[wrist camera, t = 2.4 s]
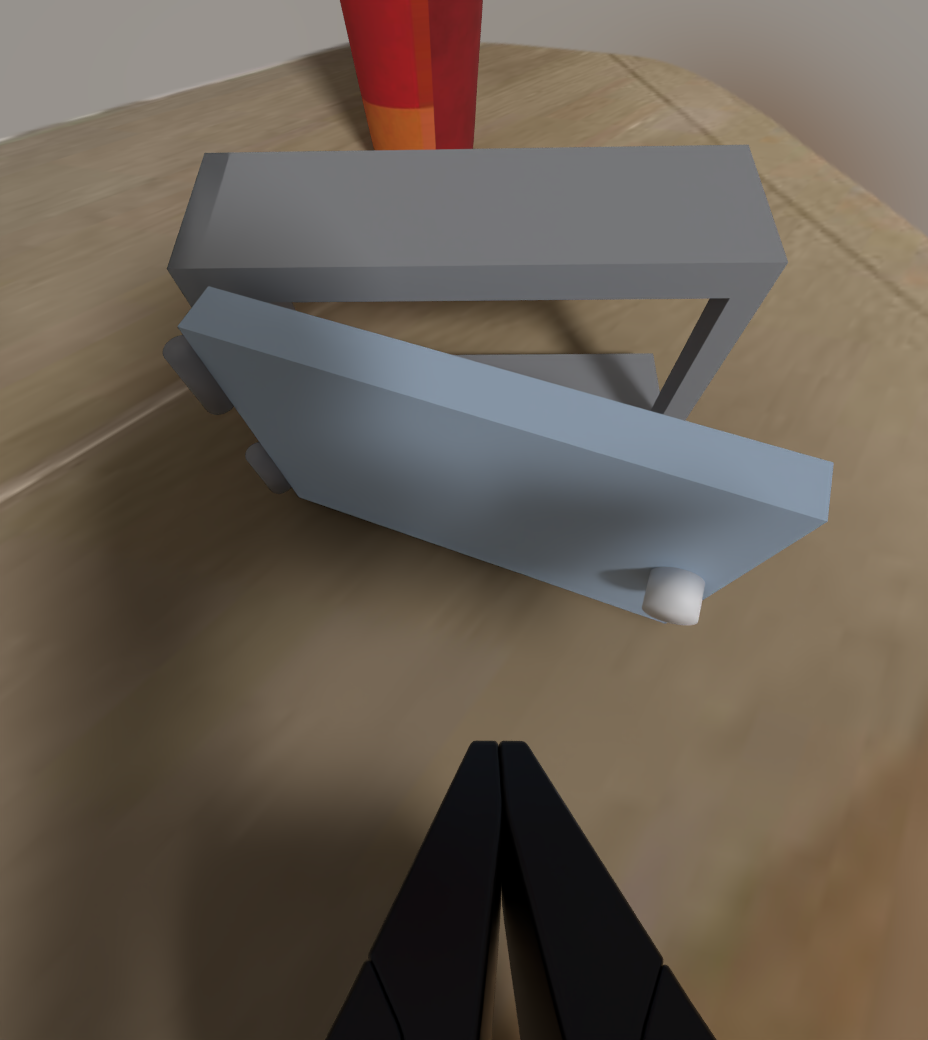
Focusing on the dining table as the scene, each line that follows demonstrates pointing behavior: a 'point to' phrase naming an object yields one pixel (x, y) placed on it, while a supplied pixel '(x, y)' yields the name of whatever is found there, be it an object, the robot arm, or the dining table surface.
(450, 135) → the coffee cup
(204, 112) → the dining table surface
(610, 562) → the door
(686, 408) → the cabinet
